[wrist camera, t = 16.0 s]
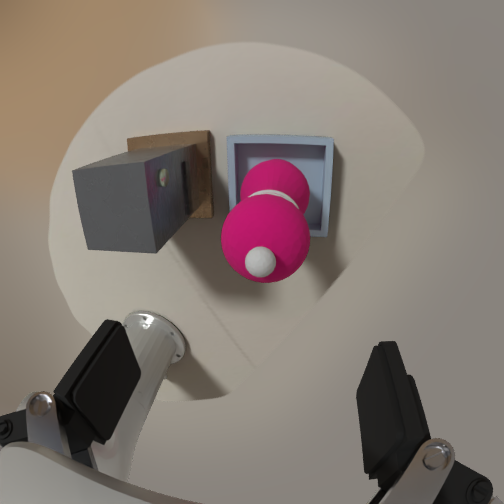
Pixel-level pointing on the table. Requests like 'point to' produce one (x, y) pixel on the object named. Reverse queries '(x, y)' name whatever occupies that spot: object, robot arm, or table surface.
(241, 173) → the parts tray
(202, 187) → the control unit
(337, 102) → the table surface
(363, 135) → the table surface
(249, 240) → the pepper mill
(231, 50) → the table surface
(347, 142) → the table surface
